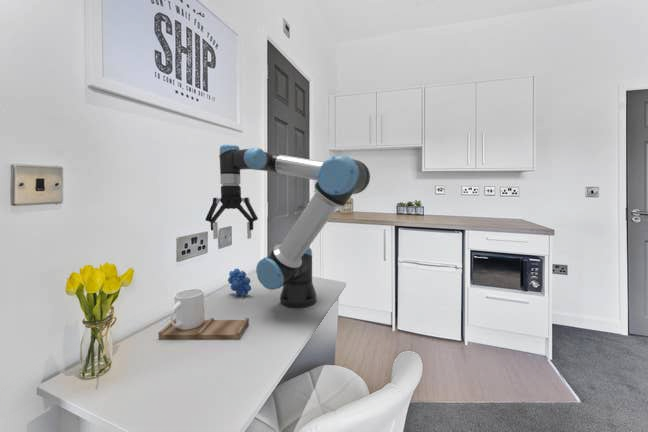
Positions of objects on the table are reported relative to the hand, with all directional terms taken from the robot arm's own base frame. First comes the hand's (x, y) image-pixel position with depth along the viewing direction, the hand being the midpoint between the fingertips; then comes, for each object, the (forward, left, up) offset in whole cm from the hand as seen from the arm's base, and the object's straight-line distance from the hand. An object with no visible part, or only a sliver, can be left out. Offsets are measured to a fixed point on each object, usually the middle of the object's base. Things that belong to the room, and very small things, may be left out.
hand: (232, 238), depth 111 cm
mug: (+8, +23, -25) cm, 35 cm away
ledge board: (+2, +24, -27) cm, 36 cm away
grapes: (+1, -7, -27) cm, 28 cm away
